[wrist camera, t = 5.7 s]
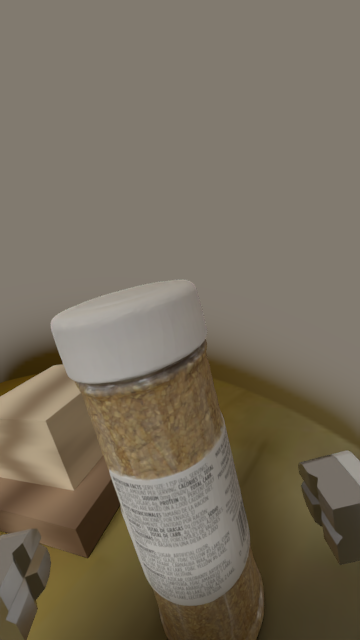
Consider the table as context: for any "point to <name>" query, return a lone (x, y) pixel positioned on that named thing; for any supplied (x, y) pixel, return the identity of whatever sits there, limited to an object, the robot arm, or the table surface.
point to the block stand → (53, 465)
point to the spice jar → (167, 453)
